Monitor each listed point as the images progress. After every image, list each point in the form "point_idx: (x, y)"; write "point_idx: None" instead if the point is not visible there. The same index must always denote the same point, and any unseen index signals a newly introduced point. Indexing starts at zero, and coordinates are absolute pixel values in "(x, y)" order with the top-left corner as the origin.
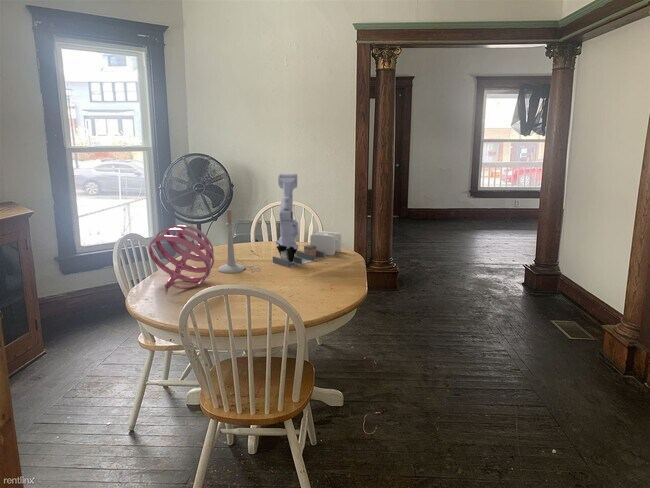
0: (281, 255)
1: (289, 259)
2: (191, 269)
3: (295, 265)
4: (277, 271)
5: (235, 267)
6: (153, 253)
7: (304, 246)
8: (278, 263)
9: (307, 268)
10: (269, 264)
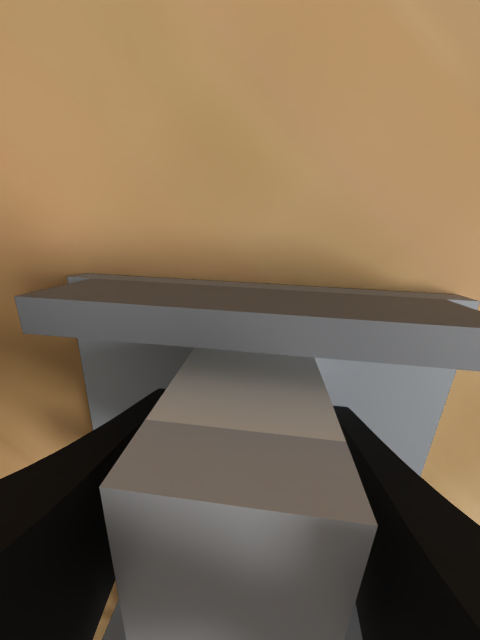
0: (310, 423)
1: (134, 405)
2: None
3: (97, 380)
4: (106, 75)
5: None
6: None
7: None
8: (302, 292)
9: (19, 411)
10: (468, 259)
